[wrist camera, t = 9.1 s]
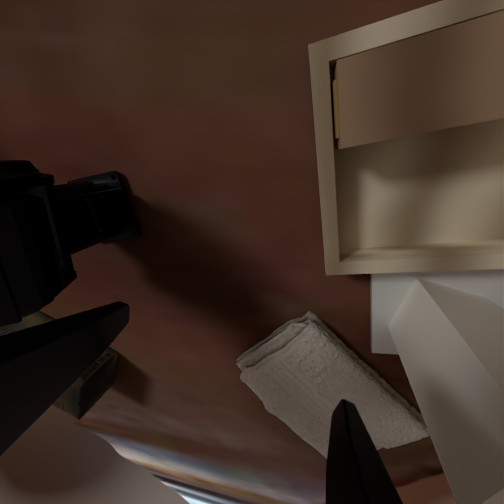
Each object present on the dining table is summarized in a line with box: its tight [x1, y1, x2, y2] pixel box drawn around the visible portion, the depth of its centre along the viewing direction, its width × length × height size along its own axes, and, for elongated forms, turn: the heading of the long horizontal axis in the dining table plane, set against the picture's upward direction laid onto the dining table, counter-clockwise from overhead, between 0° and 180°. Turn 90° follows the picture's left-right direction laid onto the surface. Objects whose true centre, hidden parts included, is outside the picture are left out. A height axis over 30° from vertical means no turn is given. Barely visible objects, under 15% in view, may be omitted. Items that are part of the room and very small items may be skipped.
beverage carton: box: [0, 311, 118, 420], centre depth 33 cm, size 8×19×7 cm, turn 70°
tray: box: [308, 0, 504, 275], centre depth 14 cm, size 14×14×3 cm
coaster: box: [370, 269, 504, 354], centre depth 19 cm, size 9×9×1 cm
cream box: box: [388, 278, 504, 504], centre depth 13 cm, size 5×5×12 cm
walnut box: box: [332, 10, 504, 149], centre depth 13 cm, size 7×4×4 cm, turn 100°
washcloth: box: [236, 311, 430, 459], centre depth 25 cm, size 12×18×3 cm, turn 50°
